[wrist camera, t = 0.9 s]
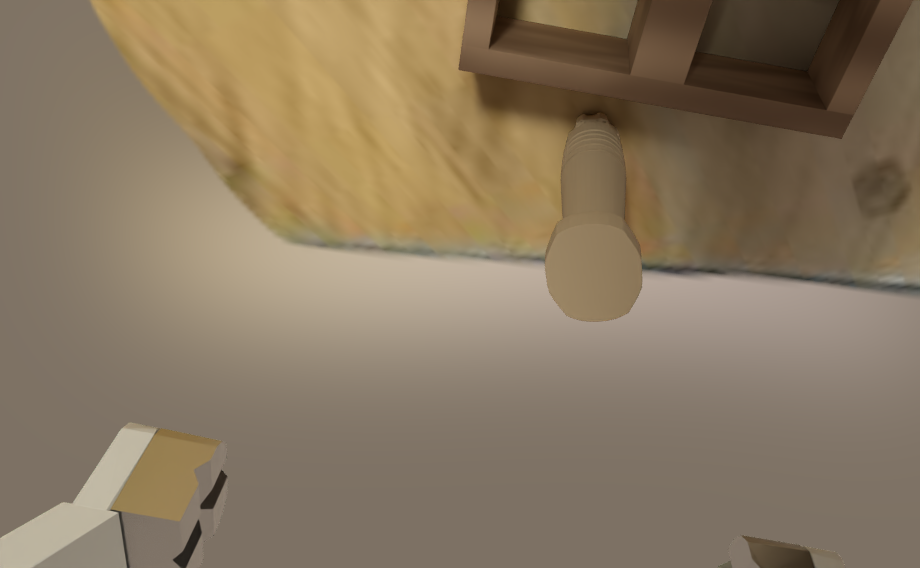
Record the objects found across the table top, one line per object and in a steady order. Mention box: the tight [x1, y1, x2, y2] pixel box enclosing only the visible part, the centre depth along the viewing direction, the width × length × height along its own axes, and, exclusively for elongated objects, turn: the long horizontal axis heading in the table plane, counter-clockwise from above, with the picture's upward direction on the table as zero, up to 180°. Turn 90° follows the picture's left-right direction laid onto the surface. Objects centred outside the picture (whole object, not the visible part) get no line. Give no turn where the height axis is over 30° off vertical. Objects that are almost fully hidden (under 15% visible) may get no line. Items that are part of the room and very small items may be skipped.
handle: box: [545, 113, 642, 322], centre depth 45 cm, size 5×6×15 cm
